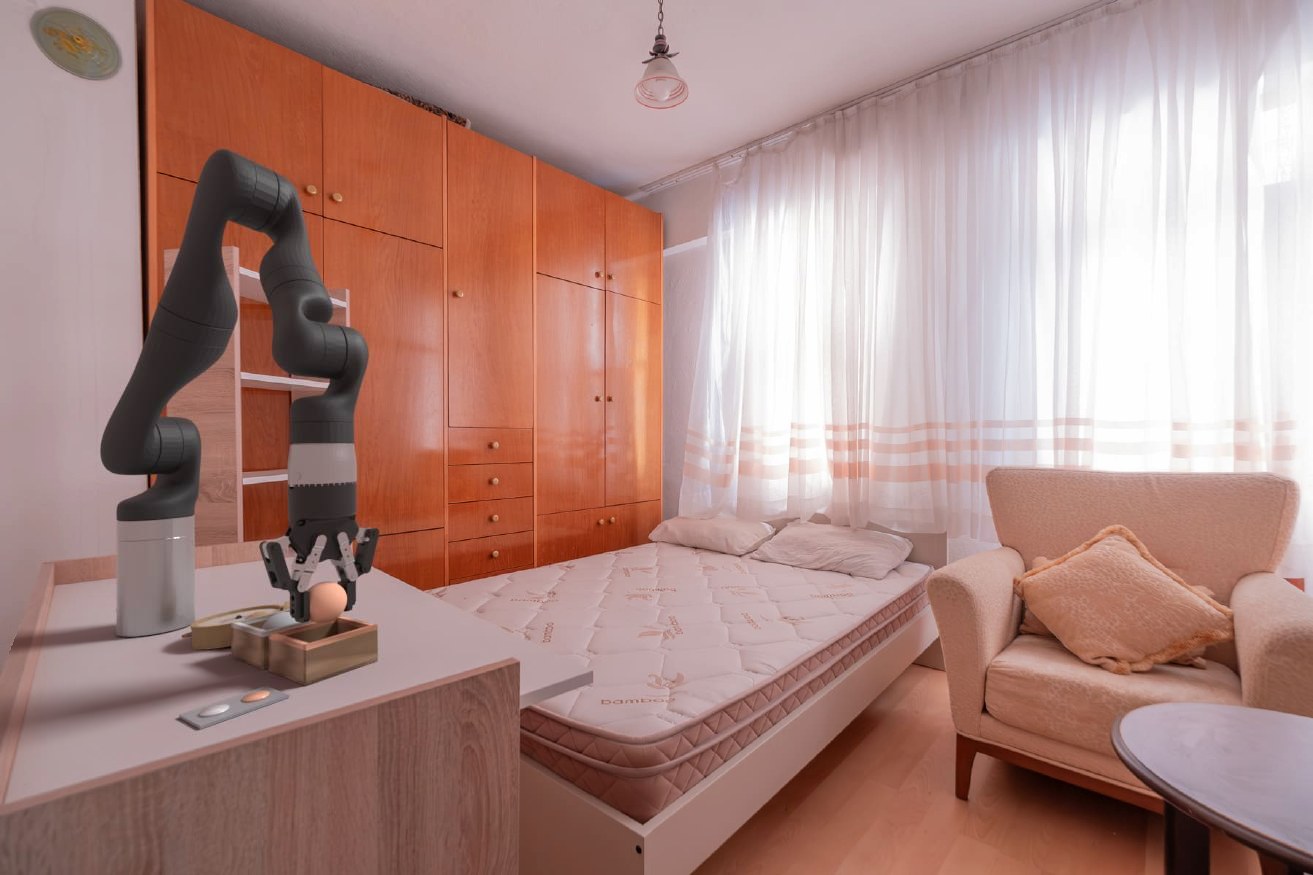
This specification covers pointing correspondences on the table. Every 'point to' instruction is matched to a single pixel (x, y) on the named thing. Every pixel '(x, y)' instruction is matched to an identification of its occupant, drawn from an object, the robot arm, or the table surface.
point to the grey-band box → (254, 639)
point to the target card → (232, 707)
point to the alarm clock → (225, 625)
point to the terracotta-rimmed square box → (322, 649)
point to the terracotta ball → (326, 601)
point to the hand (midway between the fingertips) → (324, 615)
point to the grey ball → (278, 621)
